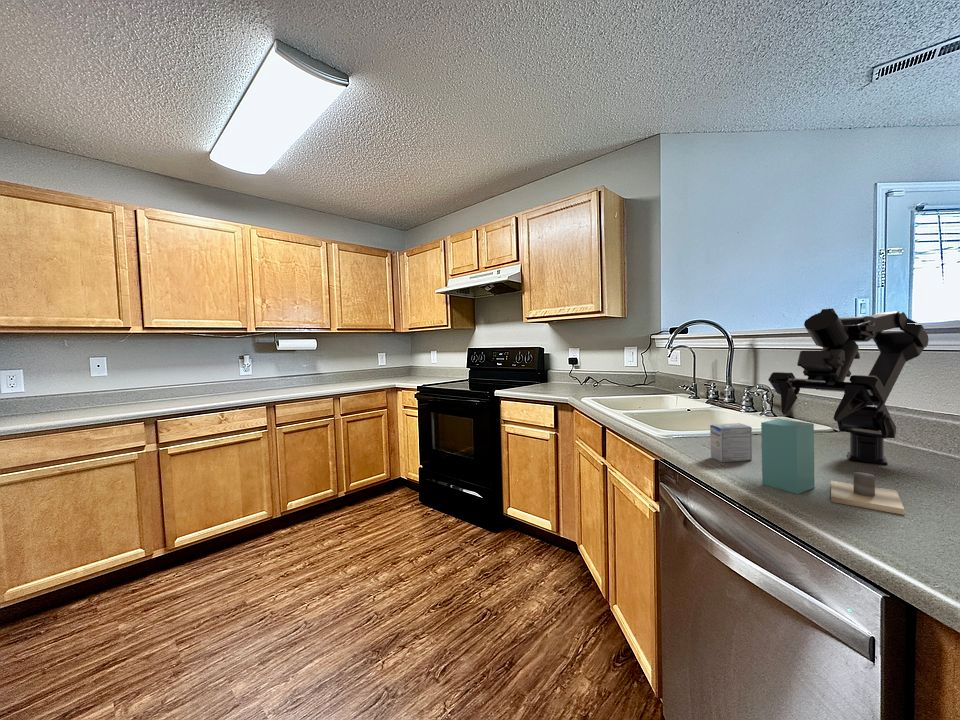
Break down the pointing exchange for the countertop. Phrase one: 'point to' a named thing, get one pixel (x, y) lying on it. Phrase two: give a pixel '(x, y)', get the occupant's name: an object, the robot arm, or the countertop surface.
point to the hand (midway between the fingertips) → (807, 416)
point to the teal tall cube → (788, 455)
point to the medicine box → (731, 442)
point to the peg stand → (866, 494)
